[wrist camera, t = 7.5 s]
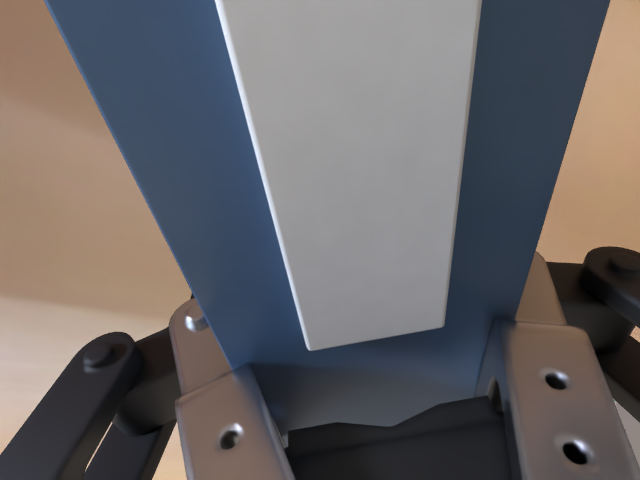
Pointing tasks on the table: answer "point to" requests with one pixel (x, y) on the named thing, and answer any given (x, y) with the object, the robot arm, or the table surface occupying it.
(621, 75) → the table surface
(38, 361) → the table surface
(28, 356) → the table surface
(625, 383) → the robot arm
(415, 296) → the tissue box
